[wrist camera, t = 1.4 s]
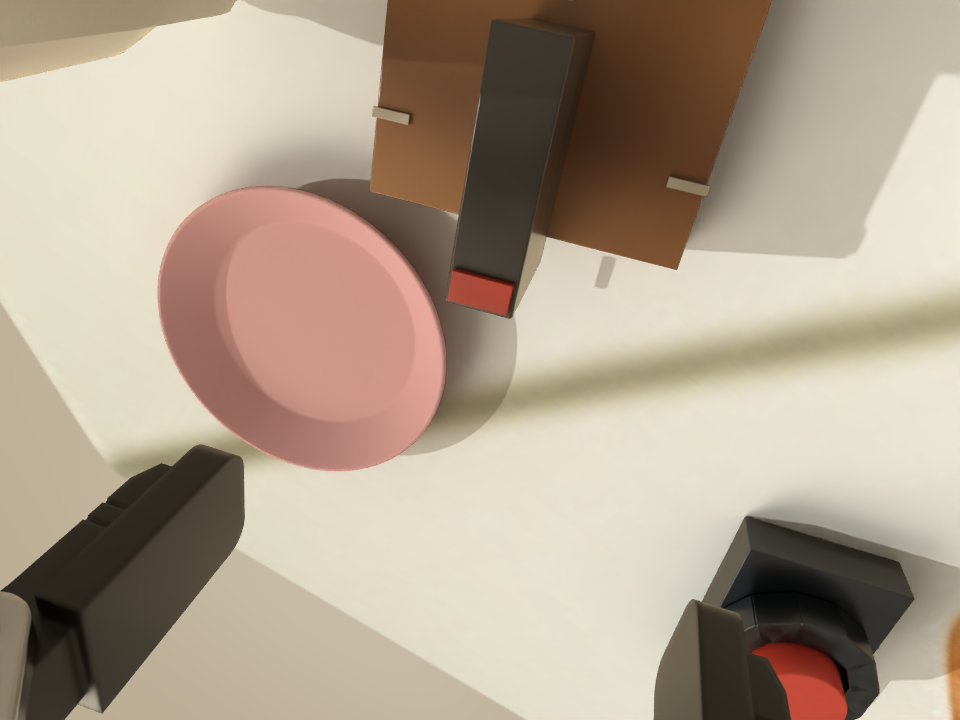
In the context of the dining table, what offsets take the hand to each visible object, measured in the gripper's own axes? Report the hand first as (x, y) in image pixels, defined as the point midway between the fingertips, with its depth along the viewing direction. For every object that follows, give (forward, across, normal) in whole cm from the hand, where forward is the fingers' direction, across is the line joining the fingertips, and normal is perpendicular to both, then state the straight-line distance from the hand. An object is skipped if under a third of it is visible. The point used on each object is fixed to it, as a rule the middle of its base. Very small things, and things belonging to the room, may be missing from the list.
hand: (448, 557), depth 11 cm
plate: (+18, +11, +7) cm, 23 cm away
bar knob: (+16, +2, -4) cm, 16 cm away
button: (+14, -14, +16) cm, 26 cm away
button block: (+18, -14, +16) cm, 28 cm away
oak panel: (+18, +2, -4) cm, 19 cm away
